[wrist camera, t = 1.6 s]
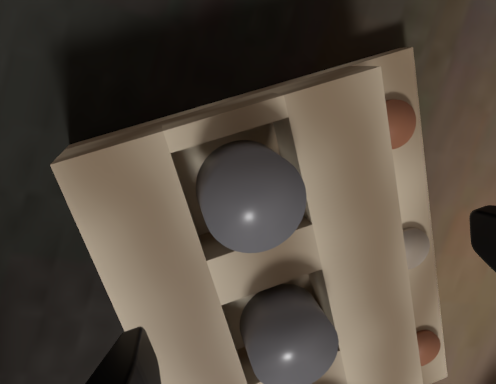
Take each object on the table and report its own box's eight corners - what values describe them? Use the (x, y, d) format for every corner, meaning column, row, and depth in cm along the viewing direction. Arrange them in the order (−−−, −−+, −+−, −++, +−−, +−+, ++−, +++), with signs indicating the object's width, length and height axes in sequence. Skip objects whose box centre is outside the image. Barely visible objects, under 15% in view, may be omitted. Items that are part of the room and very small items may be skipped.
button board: (203, 461, 23) (211, 526, 20) (69, 144, 17) (49, 165, 13) (436, 365, 25) (478, 410, 22) (399, 47, 19) (452, 44, 15)
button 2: (210, 241, 16) (219, 267, 14) (183, 156, 15) (188, 171, 13) (295, 212, 17) (315, 233, 15) (275, 127, 15) (294, 138, 13)
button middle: (250, 365, 18) (263, 403, 16) (230, 300, 17) (240, 332, 15) (324, 337, 19) (345, 370, 17) (308, 272, 18) (329, 299, 16)
